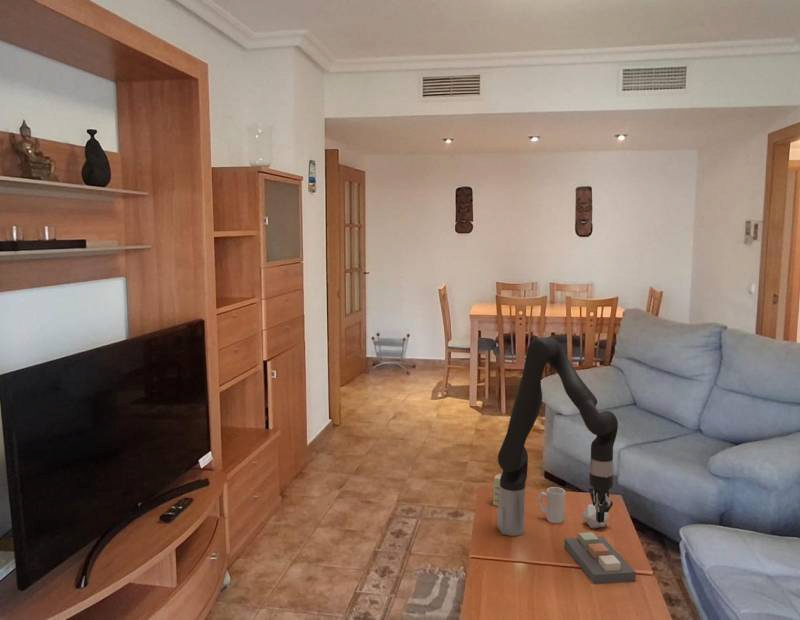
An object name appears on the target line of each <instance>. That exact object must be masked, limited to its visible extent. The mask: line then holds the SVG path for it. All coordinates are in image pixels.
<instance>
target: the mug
mask: <svg viewBox="0 0 800 620" xmlns="http://www.w3.org/2000/svg"><path fill="white" fill-rule="evenodd" d="M544 497H545V498H546V508H544V507H543V505H542V499H543V498H544ZM565 500H566V490H565V489H564V488H562V487H557V486H552V487H548V488H547V489H546V492H544V491H543V492H542V491H541V492H540V495H539V496H538V500H537V503H538V507H539V510H540V512H541V513H543V514H546V520H547V522H549V523H552V524H562V523H563V522H564V519H565V518H564V517H565V516H564V515H565Z"/></svg>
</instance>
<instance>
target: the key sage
mask: <svg viewBox="0 0 800 620" xmlns="http://www.w3.org/2000/svg"><path fill="white" fill-rule="evenodd" d="M597 537H598V536H596V535H595V533H593V532H591V531H589V532H588V531H587V532H578V538H579V539H578V541H579V542H580V544H581V545H582V546H583V547H588V544H598V538H597Z"/></svg>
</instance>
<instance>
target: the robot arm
mask: <svg viewBox="0 0 800 620" xmlns="http://www.w3.org/2000/svg"><path fill="white" fill-rule="evenodd" d="M526 349H527V350H526V354H525V358H524V359H525V361H524V365H523V370H522V376H521V379H520V382H519V387H518V389H517V390H518V391H517V393H516V395H515V400H514V403H513V407H512V411H511V415H510V418H509V423H508V428H507V431H506V435H505V436H504V439H503V442H502V444H501V447H500V449H499V452H498V455H497V463H498V465H499V467H500V468H501V470H502V473H501V474H502V475H501V478H500V503H498V506H497V529H498V532H500V534H501V535H506V536H509V537H517V536H521V535H523V534H524V533H525V506H526V505H525V504H526V503H525V502H526V501H525V500H526V482H527V478H528V466H529V465H528V463H529V455H528V450H527V449H526V447H525V445H526V441H527V439H528V437H529V434H530V432H531V431H532V429H533V427H534V425H535V423H536V421H537V419H538V417H539V413H540V411H541V407H542V402H543V389H542V376H543V373H544V370H545V367H546V365H547V364H549V365H550V366H551V368H552V369H554V370H555V372H556V373H557V374H558V376H559V378H560V381H561V383H562V385H563V386H562V387H563V389H564V392H565V394H566V395H567V396H568V398H569V399H570V400H571V402H572V403H573V405H574V406H575V407H576V408H577V410H578V411H579V413H580V416H581V419H582V421H583V423H584V425H585V427H586V429H587V430H588V431H589V432H591V434H593V435H595V436H596V437H595V439H594V440H592V442H591V443H590V459H589V460H590V461H589V475H588V476H589V477H588V478H589V480H588V483H589V485H590V486H591V487H590V488H589V489H588V490H589V494H590V499H591V502H592V504H593V506H595V509H596V521H597V522H598V523H603V522H604V512H607V513H609V512H610V510H611V508H612V507H613V505H614V504H613V503H614V502H613V500H611V501H610V492H609V490H610V489H611V488H613V487H614V444H615V442H616V437H617V434H618V429H619V423H618V418H617V416H616V415H615V414H614V413H613V412H612V411H609V410H604V411H601V412H600V411H599V410H598V409H597V404H598V399H597V397H596V396H595V394H594V393H593V392H592V390H590V389H589V387H588V386H587V385H586V383H585V382H584V381H583V379H582V378H581V377H580V375H579V374H578V373H577V371H576V370H575V368H574V367H573V365H572V362H570V360H569V358H568V356H567V354H566V352H565V351H564V349H563V347H562V345H561V344H560V342H558V340H557V339H555V338H553V337H551V336H550V337H547V336H546V337H537V338H534V339H532V340H531V341H530V342H529V344H528V346H527V348H526Z"/></svg>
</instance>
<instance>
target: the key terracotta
mask: <svg viewBox="0 0 800 620" xmlns="http://www.w3.org/2000/svg"><path fill="white" fill-rule="evenodd" d="M588 553H589V554H590V555H591V556H592V558H593V559H599V556H606V555H609V550H608V549H607V548H606V547H605V545H604V544H603V543H598V544H588Z"/></svg>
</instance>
